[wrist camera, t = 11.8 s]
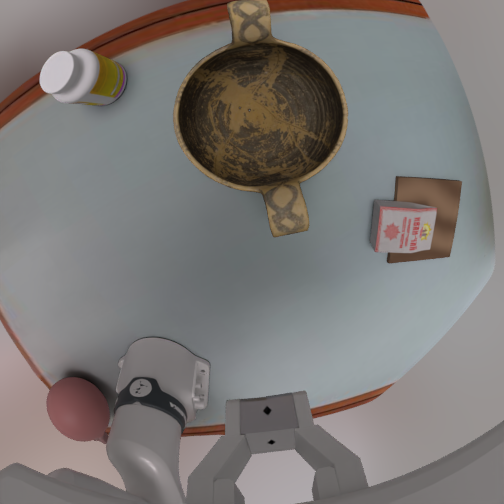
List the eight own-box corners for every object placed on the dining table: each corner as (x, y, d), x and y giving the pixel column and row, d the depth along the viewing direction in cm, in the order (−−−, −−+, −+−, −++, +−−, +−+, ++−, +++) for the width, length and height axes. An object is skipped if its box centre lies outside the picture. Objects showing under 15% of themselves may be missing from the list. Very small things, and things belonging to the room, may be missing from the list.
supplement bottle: (121, 54, 28) (76, 30, 17) (133, 92, 31) (89, 79, 19) (82, 77, 29) (28, 66, 17) (93, 114, 32) (39, 114, 20)
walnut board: (447, 254, 43) (449, 256, 43) (386, 261, 43) (388, 263, 42) (458, 180, 38) (461, 181, 37) (395, 176, 37) (398, 177, 37)
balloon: (92, 413, 59) (77, 457, 45) (50, 363, 51) (24, 409, 37) (136, 415, 58) (125, 465, 44) (94, 362, 50) (70, 417, 36)
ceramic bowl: (329, 189, 38) (377, 224, 24) (208, 210, 38) (193, 258, 25) (303, 35, 29) (340, -10, 15) (176, 55, 29) (141, 16, 16)
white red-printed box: (374, 199, 39) (431, 204, 37) (369, 242, 42) (425, 244, 40) (380, 206, 35) (441, 211, 34) (374, 251, 38) (433, 254, 37)
